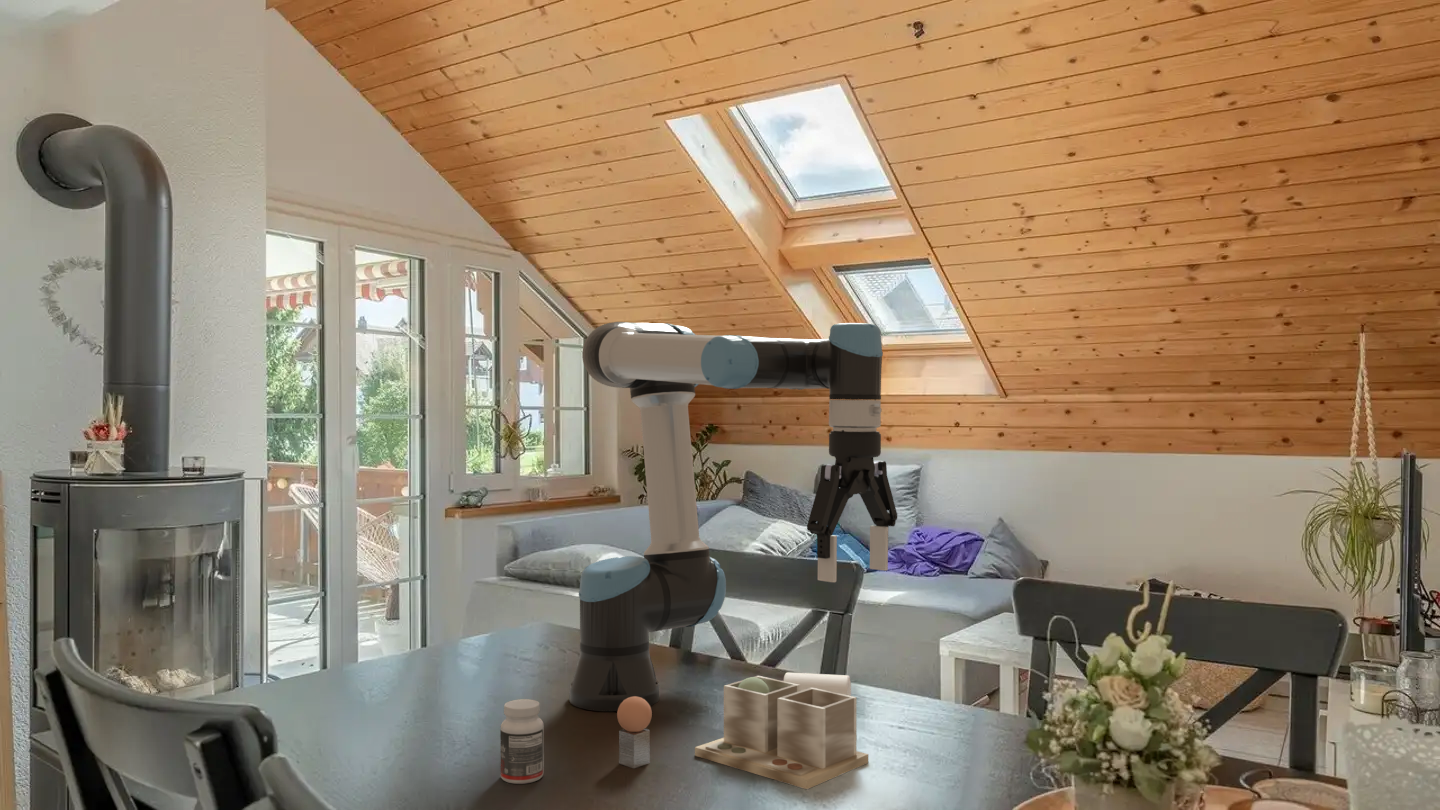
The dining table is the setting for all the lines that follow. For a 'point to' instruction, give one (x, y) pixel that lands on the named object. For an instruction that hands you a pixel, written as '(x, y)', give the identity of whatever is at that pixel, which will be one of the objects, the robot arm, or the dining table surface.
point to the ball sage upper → (754, 685)
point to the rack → (787, 733)
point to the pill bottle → (522, 742)
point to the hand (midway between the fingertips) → (853, 575)
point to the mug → (821, 682)
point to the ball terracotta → (634, 714)
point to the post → (634, 748)
